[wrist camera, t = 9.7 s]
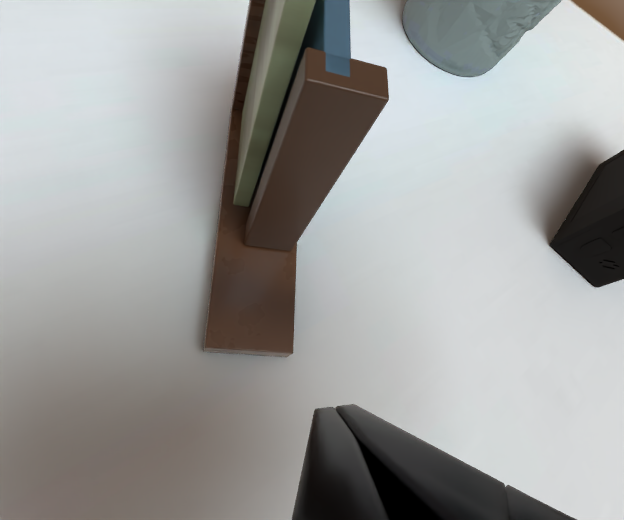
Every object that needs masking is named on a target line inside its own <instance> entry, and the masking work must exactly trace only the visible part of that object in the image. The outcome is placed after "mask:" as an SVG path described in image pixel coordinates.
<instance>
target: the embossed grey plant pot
mask: <svg viewBox="0 0 624 520" xmlns="http://www.w3.org/2000/svg"><path fill="white" fill-rule="evenodd" d="M560 2H561V0H407V2H406V4H405V7H404V12H403V25H404V29H405V32H406V34H407V36H408V38H409V40H410V41H411V43H412V44H413V46H414V47H415V48H416V49H417V50H418V51H419V52H420V54H421V55H422V56H424V57H425V58H426V59H427V60H428V61H430V62H431V63H433V64H434V65H436V66H437V67H439V68H441V69H443V70H444V71H447V72H449V73H452V74H455V75H459V76H467V77H473V76H478V75H481V74H484V73H486V72H487V71H489V70H490V69H492V68H493V67H494V66H495V65H496V64H497V63H498V62H499V61H500V60H501V59H502V58H503V57H504V56H505V55H506V54H507V53H508V52H509V51H510V50H511V49H512V48H513V47H514V46H515V45H516V44H517V43H518V42H519V41H520V39H521V37H522V36H523V34H524V33H525V32H526V31H528V30H531V29H533V28H534V27H535V26H536V25H537V24H538V23H539V22H540V21H541V20H542V19H543V18H544V17H545V16H546V15H547V14H548V13H549V12H550V11H551V10H552V9H553V8H554V7H555V6H557V5H558V4H559V3H560Z"/></svg>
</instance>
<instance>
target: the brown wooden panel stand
mask: <svg viewBox="0 0 624 520" xmlns="http://www.w3.org/2000/svg"><path fill="white" fill-rule="evenodd" d="M315 2H316V0H250V1H249V6H248V12H247V18H246V24H245V30H244V36H243V42H242V47H241V53H240V59H239V65H238V71H237V77H236V83H235V88H234V94H233V100H232V106H231V112H230V121H229V129H228V138H227V147H226V156H225V164H224V173H223V182H222V191H221V200H220V208H219V217H218V226H217V235H216V243H215V252H214V261H213V270H212V278H211V287H210V296H209V305H208V314H207V322H206V331H205V340H204V349H203V351H204V352H214V353H229V354H245V355H260V356H275V357H288V356H289V355H291V354H292V353H293V339H294V310H295V281H296V252H297V243H296V244H295V246H294V247H293V249H292V250H291V251H287V250H279V249H272V248H264V247H257V246H249V245H245V244H244V239H245V227H246V222H247V219H248V216H249V213H250V210H251V207H252V204H253V202H254V199H255V196H256V193H257V190H258V187H259V175H260V171H261V168H262V165H263V162H264V159H265V155H266V152H267V149H268V146H269V143H270V140H271V137H272V134H273V131H274V128H275V125H276V122H277V119H278V116H279V113H280V109H281V106H282V103H283V100H284V97H285V94H286V91H287V88H288V85H289V82H290V79H291V76H292V73H293V70H294V67H295V63H296V60H297V57H298V54H299V51H300V48H301V45H302V42H303V39H304V36H305V33H306V30H307V27H308V24H309V21H310V17H311V14H312V11H313V8H314V5H315Z"/></svg>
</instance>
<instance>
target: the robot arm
mask: <svg viewBox="0 0 624 520" xmlns="http://www.w3.org/2000/svg"><path fill="white" fill-rule="evenodd" d="M292 520H577V519H575V518H572V517H570V516H568V515H566V514H564V513H562V512H560V511H558V510H556V509H554V508H552V507H550V506H548V505H546V504H544V503H542V502H540V501H538V500H536V499H534V498H532V497H530V496H528V495H527V494H525V493H523V492H521V491H519V490H517V489H515V488H513V487H511V486H509V485H507V486H506V487H505V485H504V483H502V482H500V481H498V480H497V479H495V478H493V477H491V476H489V475H487V474H485V473H483V472H481V471H480V470H478V469H476V468H474V467H472V466H470V465H468V464H466V463H464V462H463V461H461V460H459V459H457V458H455V457H453V456H451V455H449V454H447V453H446V452H444V451H442V450H440V449H438V448H436V447H434V446H432V445H430V444H428V443H427V442H425V441H423V440H421V439H419V438H417V437H415V436H413V435H411V434H410V433H408V432H406V431H404V430H402V429H400V428H398V427H396V426H394V425H393V424H391V423H389V422H387V421H385V420H383V419H381V418H379V417H377V416H375V415H374V414H372V413H370V412H368V411H366V410H364V409H362V408H360V407H358V406H357V405H354V404H351V405H342V406H337V407H336V408H333V407H326V408H318V409H315V411H314V414H313V419H312V424H311V429H310V434H309V438H308V443H307V448H306V453H305V458H304V463H303V467H302V472H301V477H300V482H299V487H298V492H297V497H296V501H295V506H294V511H293V516H292Z"/></svg>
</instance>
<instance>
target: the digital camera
mask: <svg viewBox="0 0 624 520" xmlns="http://www.w3.org/2000/svg"><path fill="white" fill-rule="evenodd" d="M550 246H551V247H552V248H554V249H555V250H556V251H557V252H558V253H559V254H560V255H561V256H562V257H563V258H565V259H566V260H567V261H568V262H569V263H570V264H571V265H572V266H573V267H574V268H575V269H576V270H577V271H579V272H580V273H581V274H582V275H583V276H584V277H585V278H586V279H587V280H588V281H589V282H590V283H591V284H592V285H594V286H595V287H601V286H604V285H607V284H610V283H613V282H616V281H619V280H622V279H624V150H622V151H621V152H619V153H618V154H616V155H614V156H613V157H611V158H610V159H608V160H606V161H605V162H603V163H602V164H600V165H599V166H598V168H597V170H596V171H595V173H594V174H593V176H592V178H591V179H590V181H589V182H588V184H587V186H586V187H585V189H584V190H583V192H582V194H581V195H580V197H579V198H578V200H577V202H576V203H575V205H574V207H573V208H572V210H571V211H570V213H569V215H568V216H567V218H566V219H565V221H564V223H563V224H562V226H561V227H560V229H559V231H558V232H557V234H556V235H555V237H554V239H553V240H552V242H551V243H550Z"/></svg>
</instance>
